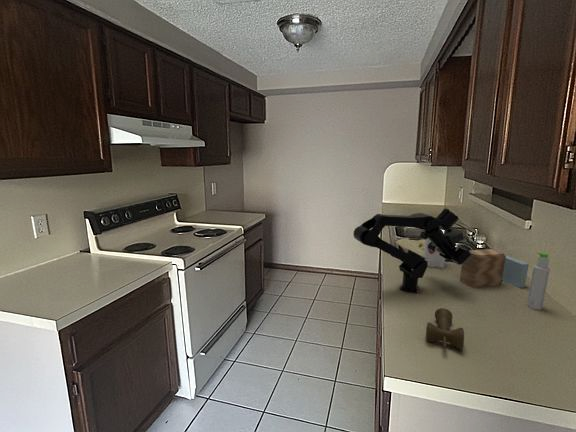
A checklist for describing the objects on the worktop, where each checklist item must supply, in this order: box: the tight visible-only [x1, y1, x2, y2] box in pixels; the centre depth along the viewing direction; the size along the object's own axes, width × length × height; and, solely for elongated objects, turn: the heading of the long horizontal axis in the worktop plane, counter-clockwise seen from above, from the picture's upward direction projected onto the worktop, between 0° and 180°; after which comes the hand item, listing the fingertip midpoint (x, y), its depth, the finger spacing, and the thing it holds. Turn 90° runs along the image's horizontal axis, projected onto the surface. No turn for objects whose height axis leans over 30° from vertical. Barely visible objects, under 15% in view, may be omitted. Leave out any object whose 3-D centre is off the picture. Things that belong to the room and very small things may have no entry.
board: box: [502, 255, 529, 289], centre depth 136 cm, size 3×14×10 cm, turn 12°
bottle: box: [526, 252, 550, 311], centre depth 112 cm, size 4×4×20 cm
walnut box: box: [459, 248, 507, 289], centre depth 133 cm, size 14×7×14 cm, turn 102°
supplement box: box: [423, 238, 446, 269], centre depth 154 cm, size 9×9×15 cm
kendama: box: [425, 308, 465, 351], centre depth 94 cm, size 6×10×20 cm
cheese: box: [395, 237, 425, 256], centre depth 167 cm, size 15×7×15 cm
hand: (458, 263), depth 130 cm, fingers closed
